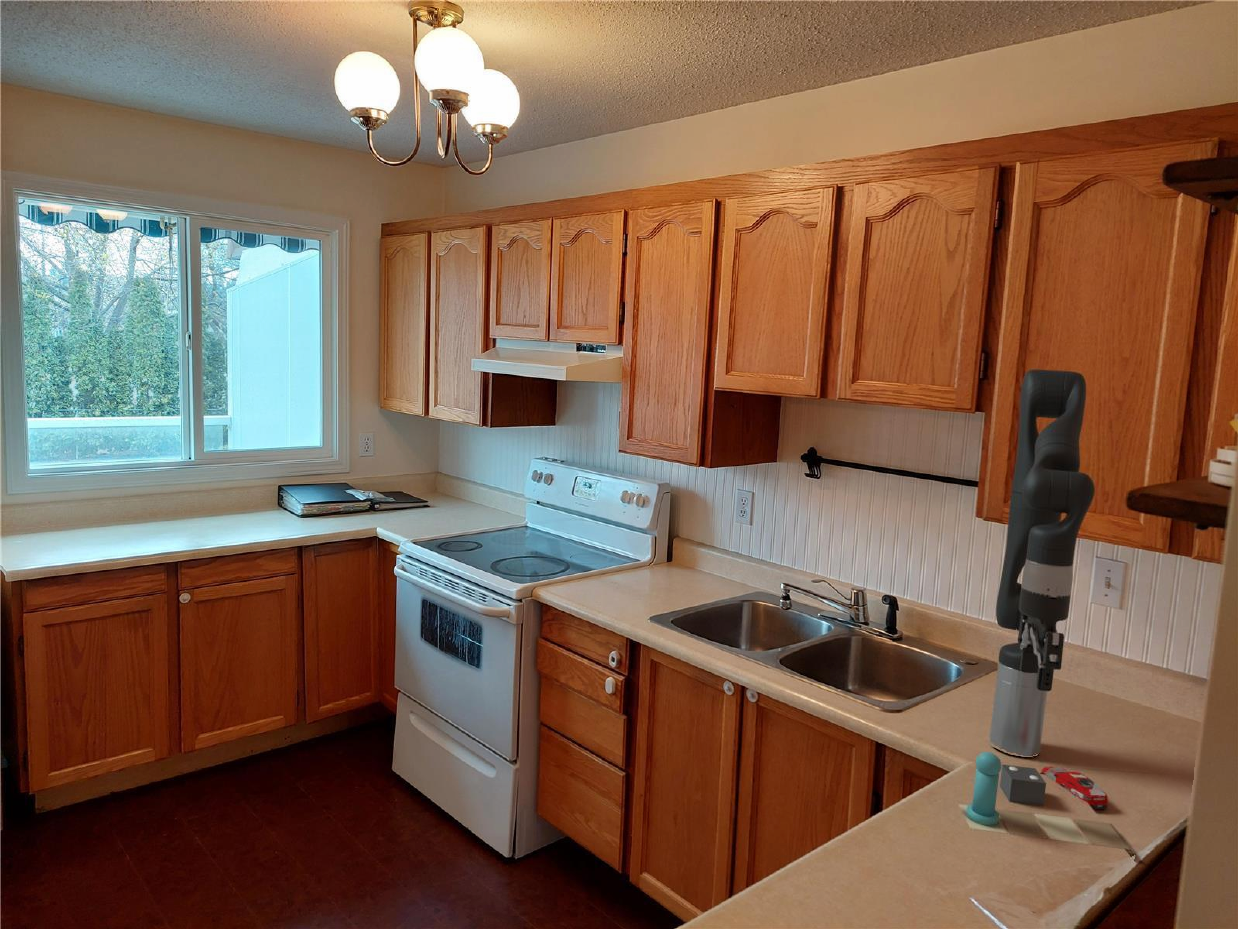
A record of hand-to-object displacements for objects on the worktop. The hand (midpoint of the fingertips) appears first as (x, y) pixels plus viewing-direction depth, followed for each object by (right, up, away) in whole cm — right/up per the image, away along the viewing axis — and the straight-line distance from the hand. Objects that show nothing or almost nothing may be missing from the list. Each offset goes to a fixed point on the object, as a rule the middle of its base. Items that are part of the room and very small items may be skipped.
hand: (1034, 681), depth 144 cm
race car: (+10, -23, +8) cm, 26 cm away
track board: (-3, -23, -7) cm, 24 cm away
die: (-1, -22, +2) cm, 22 cm away
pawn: (-12, -21, -6) cm, 25 cm away
